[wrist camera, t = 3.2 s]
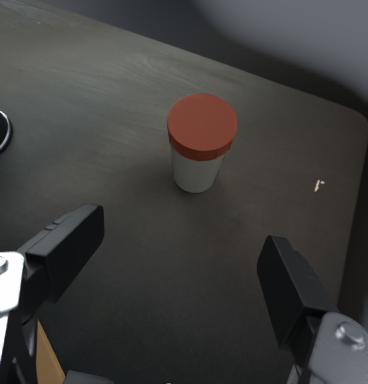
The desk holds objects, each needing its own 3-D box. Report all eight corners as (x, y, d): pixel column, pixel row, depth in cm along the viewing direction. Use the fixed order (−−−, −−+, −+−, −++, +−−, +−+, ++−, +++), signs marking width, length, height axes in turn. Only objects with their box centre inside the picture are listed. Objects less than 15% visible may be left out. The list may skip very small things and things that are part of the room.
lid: (155, 128, 18) (152, 115, 16) (204, 98, 19) (206, 83, 18) (196, 174, 17) (197, 164, 15) (246, 137, 18) (252, 125, 16)
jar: (164, 169, 26) (155, 119, 17) (197, 146, 27) (205, 89, 18) (191, 201, 24) (197, 165, 15) (225, 176, 26) (248, 129, 17)
